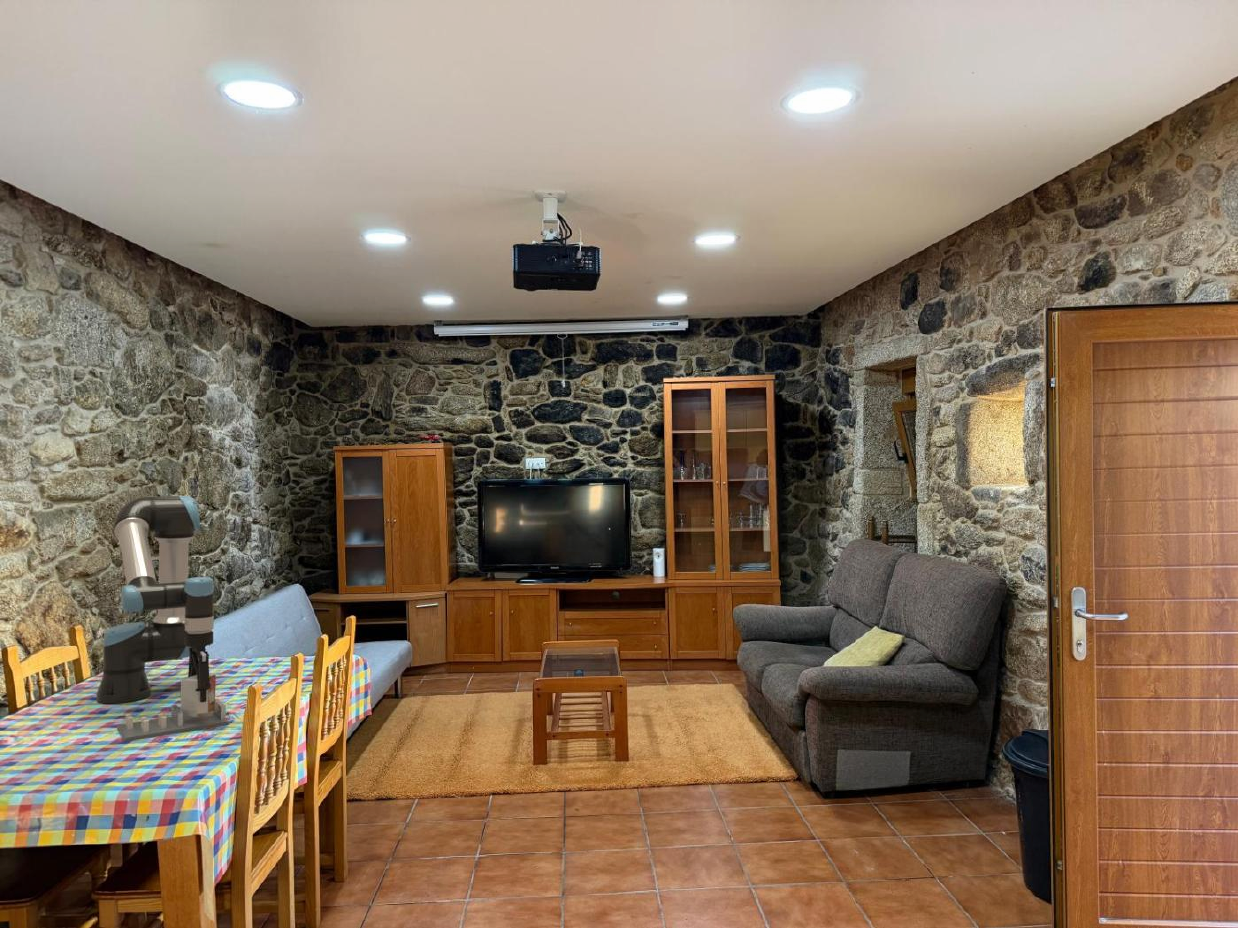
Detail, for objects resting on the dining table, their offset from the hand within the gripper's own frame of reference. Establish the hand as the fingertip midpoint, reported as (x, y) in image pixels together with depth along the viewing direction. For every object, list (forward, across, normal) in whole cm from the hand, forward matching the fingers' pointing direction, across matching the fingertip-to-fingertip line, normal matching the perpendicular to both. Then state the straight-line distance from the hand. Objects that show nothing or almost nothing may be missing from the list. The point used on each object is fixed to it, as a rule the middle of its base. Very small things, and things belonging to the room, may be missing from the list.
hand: (198, 709), depth 248 cm
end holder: (+4, 0, 0) cm, 4 cm away
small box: (+1, 0, 0) cm, 1 cm away
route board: (+4, 0, -6) cm, 8 cm away
